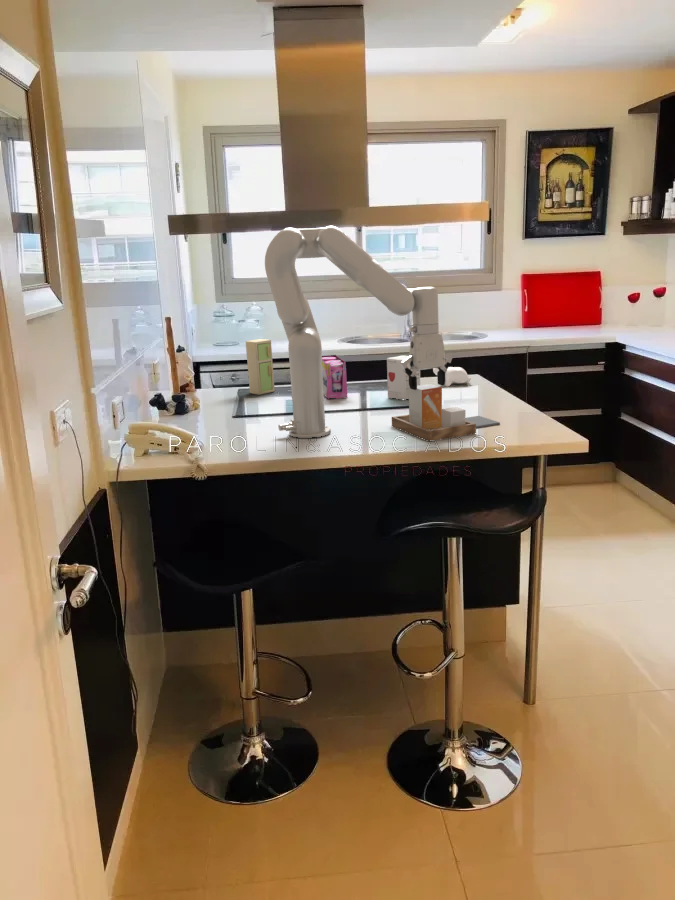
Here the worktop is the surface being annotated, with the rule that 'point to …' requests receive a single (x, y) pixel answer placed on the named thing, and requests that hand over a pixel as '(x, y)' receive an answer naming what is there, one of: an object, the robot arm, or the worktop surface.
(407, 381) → the supplement box
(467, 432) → the tray
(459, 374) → the white animal figurine
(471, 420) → the slate mat
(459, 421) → the white block
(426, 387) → the small box
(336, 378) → the gum box
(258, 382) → the toy refrigerator
